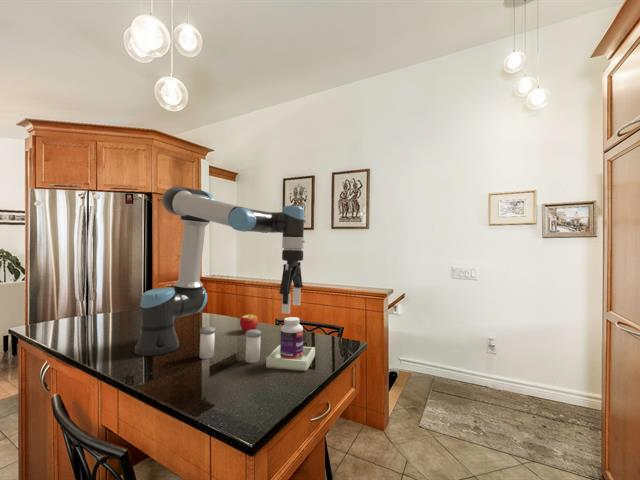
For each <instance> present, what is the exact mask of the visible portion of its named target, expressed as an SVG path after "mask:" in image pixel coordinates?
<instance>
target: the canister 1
mask: <svg viewBox="0 0 640 480" xmlns="http://www.w3.org/2000/svg"><path fill="white" fill-rule="evenodd" d="M199 333H200V334H199V335H200V337H199V338H200V339H199V359H201V360H208V359H212V358H214V357H215V337H216V336H215V335H216V326H215V327H214V326H203V327H200V328H199Z"/></svg>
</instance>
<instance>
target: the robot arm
mask: <svg viewBox="0 0 640 480" xmlns="http://www.w3.org/2000/svg"><path fill="white" fill-rule="evenodd" d="M161 203H162V205H163V208H164V210H166V211H167V212H168V213H170V214H172V215H174V216H180V220H179V221H181V222H182V225H183V231H182V239H181V240H182V241H181V250H180V259H179V270H178V278H177V280H176V281H175V282H174V283H173V287H170V286H169V287H168V286H166V287H165V286H164V287H156V288H152V289H150V290H147V291H145V292H143V294H142V295H141V299H140V305H139V306H140V332H139V335H138V338H137V340H136V344H135V347H134V353H135V354H136V355H138V356H144V357H148V356H149V357H150V356H159V355H164V354H167V353H168V354H169V353H171V352H174V351H175V350H177V349H178V348H179V345H180V344H179V342H180V341H179V338H178V335H177V333H176V330H175V319H178V318H181V317H185V316H191V315H194V314H197V313H199V312H201V311H202V310H203V309H204V308H205V306H206V305H207V302H208V293H207V290H206V289H205V287H204V284H203V282H202V281H201V273H202V271H201V270H202V264H203V263H202V261H203V254H204V253H203V252H204V243H205V234H206V227H207V226H208V225H209V224H210V222H212V223H216V224H220V225H223V226H228V227H231V228H232V229H233V230H235V231H239V232H244V233H245V232H255V233H261V234H262V233H264V234H268V233H270V234H272V233H274V234H275V233H282V244H281V245H282V247H281V248H282V250H281V253H282V255H281V259H282V261H284V262H286V263H285V264H284V263H283V267H282V268H283V269H282V270H283V271H282V277H281V283H280V287H279V288H280V289H279V290H278V291H279V293H278V294H279V295H281V314H286V315H290V314H291V293H290V291H291V287H292V284H293V287H292V305H293V306H301V291H302V290H301V288H303V287H304V284H303V278H302V268H301V267H302V266H301V265H302V264H301V261H303V260H304V251H303V249H304V244H305V243H306V241H305V239H304V234H305V233H304V230H305V229H304V228H305V209H304V208H303V206H299V205H285V206H283V208H282V211H281V212H280V211H278V212H276V211H272V212H270V211H265V210H258V209H251V208H249V207H248V208H247V207H243V206H238V205H234V204H231V203H225V202H222V201H218V200H216V198H215V197H214V195H213V194H211V193H210V192H208V191H205V190H202V189H201V190H200V189H197V188H195V189H194V188H190V187H189V188H188V187H185V186H177V185H176V186H172V187H170V188H168V189H166V190H165V192H164V193H163V194H162V199H161Z"/></svg>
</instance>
